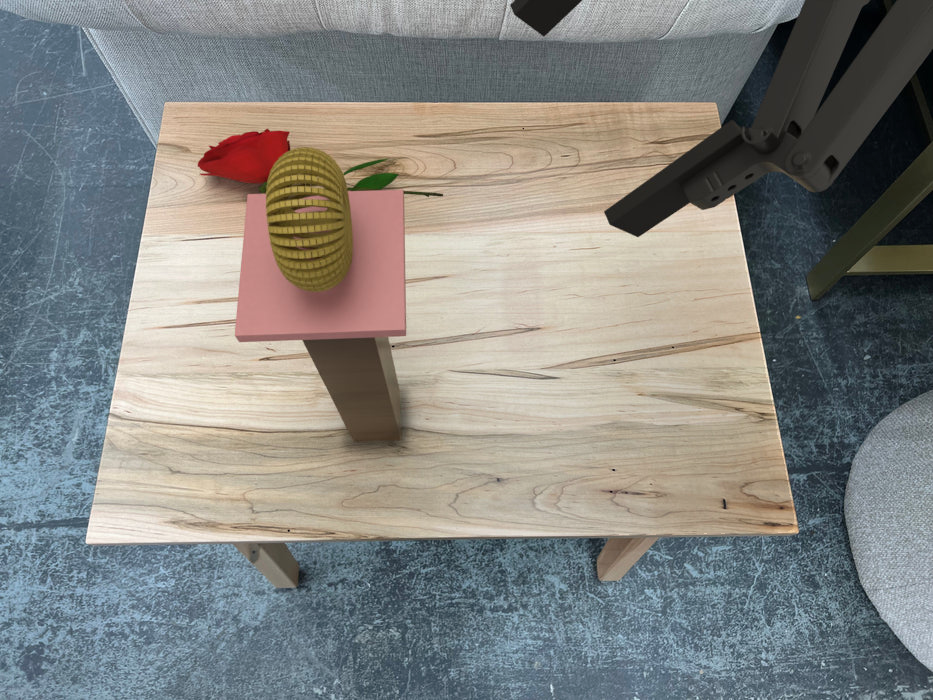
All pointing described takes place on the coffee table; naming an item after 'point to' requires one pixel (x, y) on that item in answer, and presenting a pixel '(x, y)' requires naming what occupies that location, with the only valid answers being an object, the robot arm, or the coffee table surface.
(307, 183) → the sculpture
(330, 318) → the rose shelf
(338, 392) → the stand post
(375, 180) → the flower
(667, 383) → the coffee table surface
